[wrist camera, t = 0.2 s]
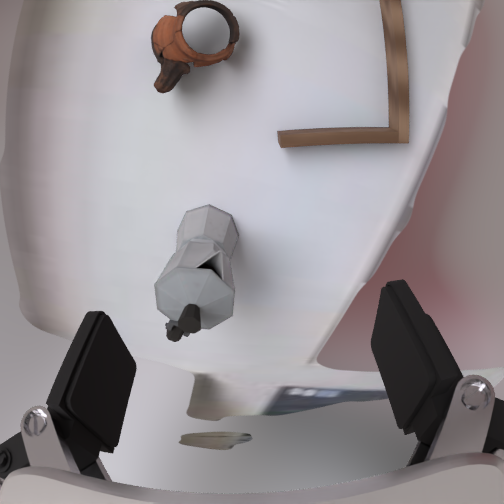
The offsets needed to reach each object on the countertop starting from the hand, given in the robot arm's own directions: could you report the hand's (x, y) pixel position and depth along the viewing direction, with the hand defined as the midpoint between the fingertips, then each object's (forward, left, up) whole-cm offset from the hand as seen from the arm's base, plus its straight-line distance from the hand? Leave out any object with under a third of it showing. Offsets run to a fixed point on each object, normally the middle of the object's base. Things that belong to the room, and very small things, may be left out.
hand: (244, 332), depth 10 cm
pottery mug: (-13, -5, -31) cm, 34 cm away
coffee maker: (+13, -7, -31) cm, 35 cm away
